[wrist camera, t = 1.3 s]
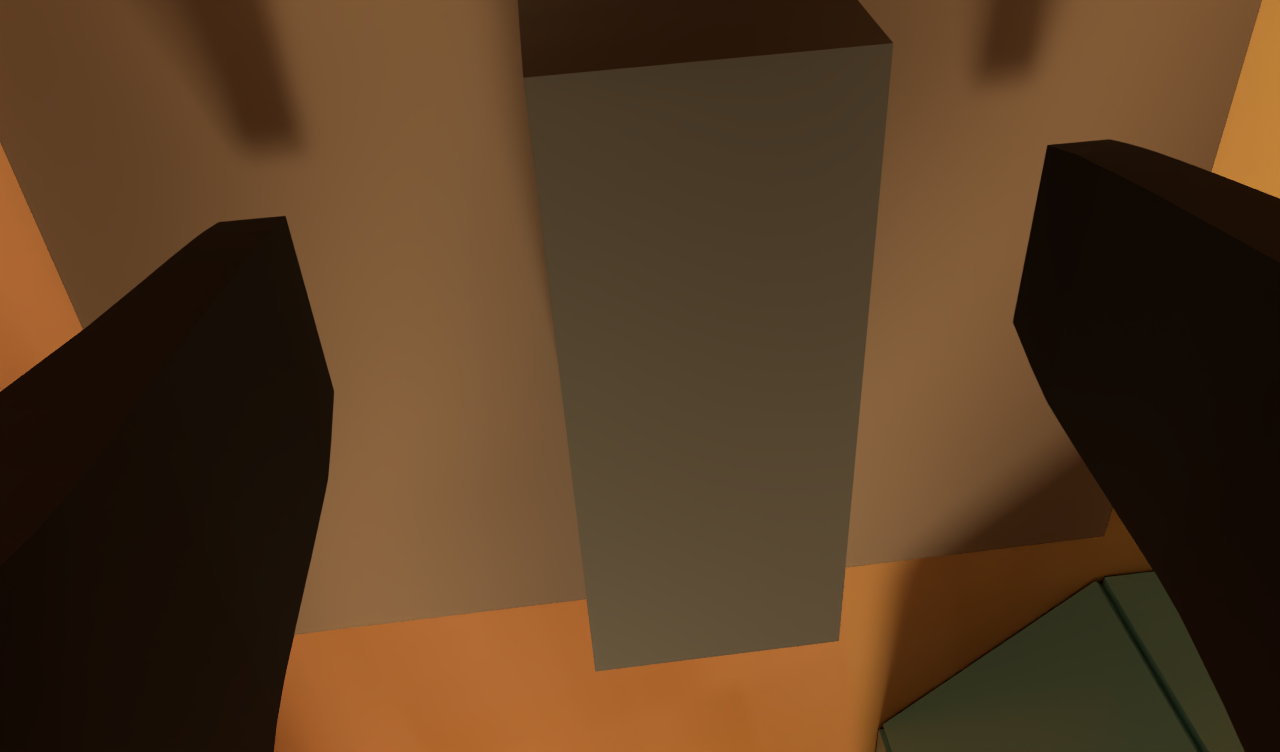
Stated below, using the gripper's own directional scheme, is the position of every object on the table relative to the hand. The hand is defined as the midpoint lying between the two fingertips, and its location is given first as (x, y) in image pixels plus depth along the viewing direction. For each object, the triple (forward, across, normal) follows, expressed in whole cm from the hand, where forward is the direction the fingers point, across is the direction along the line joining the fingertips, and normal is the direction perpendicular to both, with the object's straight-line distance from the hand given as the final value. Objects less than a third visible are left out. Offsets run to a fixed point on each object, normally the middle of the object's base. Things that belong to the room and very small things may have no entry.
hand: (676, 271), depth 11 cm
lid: (+3, 0, 0) cm, 3 cm away
